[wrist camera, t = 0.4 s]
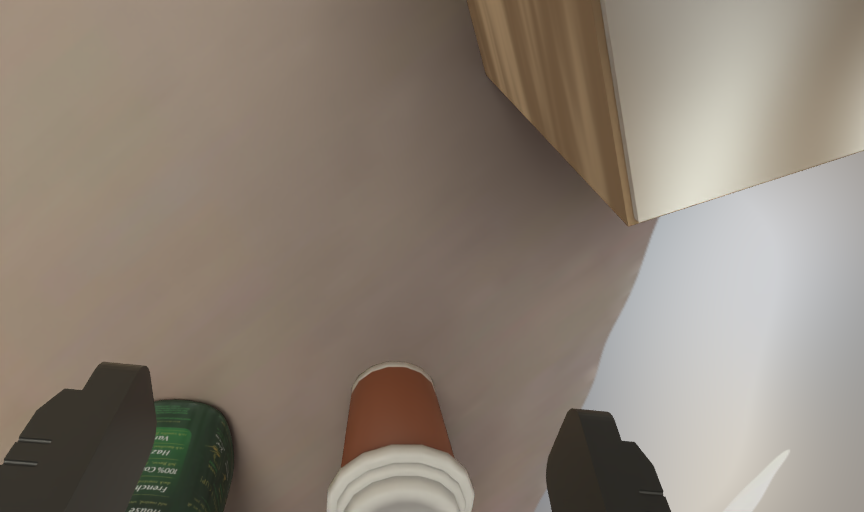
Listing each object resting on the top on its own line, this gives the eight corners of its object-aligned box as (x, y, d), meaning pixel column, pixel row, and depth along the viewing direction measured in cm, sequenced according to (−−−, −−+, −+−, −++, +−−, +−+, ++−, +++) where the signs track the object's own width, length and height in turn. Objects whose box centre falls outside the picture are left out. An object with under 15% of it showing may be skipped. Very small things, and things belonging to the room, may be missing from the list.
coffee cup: (308, 380, 44) (292, 519, 33) (417, 326, 43) (436, 452, 32) (371, 455, 48) (374, 600, 38) (472, 408, 47) (504, 544, 36)
